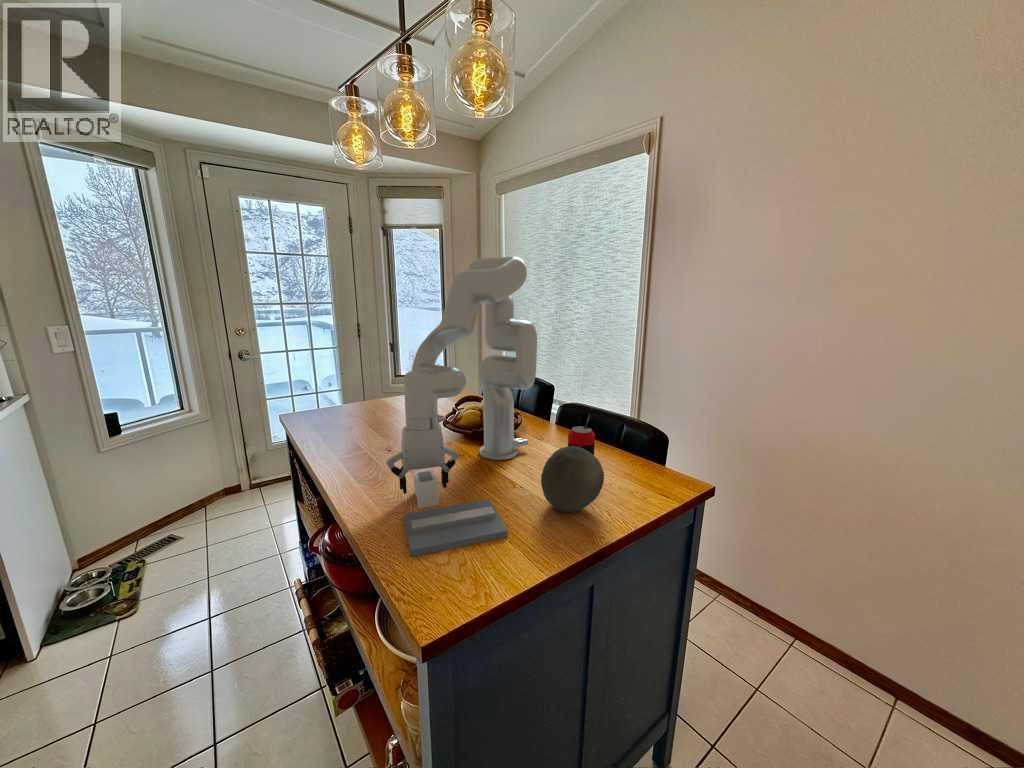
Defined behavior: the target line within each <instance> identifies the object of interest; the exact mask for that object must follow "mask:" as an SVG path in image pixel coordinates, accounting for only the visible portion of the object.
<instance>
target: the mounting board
mask: <svg viewBox="0 0 1024 768" xmlns="http://www.w3.org/2000/svg"><path fill="white" fill-rule="evenodd" d="M490 506H492V508H493V510H494V511H495V518H492V519H487V520H481V521H476V522H471V523H466V524H460V525H455V526H450V527H445V528H439V529H434V530H429V531H424V532H418V533H412V528H411V521H413V520H418V519H424V518H429V517H435V516H440V515H446V514H452V513H457V512H463V511H468V510H474V509H479V508H485V507H490ZM403 514H404V515H403V518H404V524H405V531H406V537H407V543H408V544H407V545H408V549H409V556H410V557H411V558H413V557H417V556H422V555H426V554H432V553H436V552H441V551H446V550H450V549H455V548H460V547H461V548H462V547H465V546H470V545H475V544H478V543H479V544H480V543H484V542H490V541H494V539H495V540H498V539H499V538H500V539H504V538H508V535H509V533H508V528H507V527H506V525H505V523H504V522H503V520H502V519H501V517H500V515H499V514H498V512H497V509H495V506H494V505H493V503H492V502H491V500H490V499H489V498H486V499H481V500H475V501H470V502H464V503H463V502H462V503H458V504H453V505H445V506H440V507H435V508H429V509H424V510H417V511H412V512H406V513H403Z"/></svg>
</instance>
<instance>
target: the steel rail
mask: <svg viewBox="0 0 1024 768" xmlns="http://www.w3.org/2000/svg"><path fill="white" fill-rule="evenodd" d="M492 518H495V511H494V510H493V508H492V506H490V507H485V508H479V509H474V510H468V511H463V512H457V513H452V514H446V515H440V516H435V517H429V518H424V519H418V520H413V521H411V528H412V533H418V532H424V531H429V530H434V529H439V528H445V527H450V526H455V525H460V524H466V523H471V522H476V521H481V520H487V519H492Z"/></svg>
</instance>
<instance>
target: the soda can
mask: <svg viewBox="0 0 1024 768" xmlns="http://www.w3.org/2000/svg"><path fill="white" fill-rule="evenodd" d="M595 442H596V434H595V433H594V431H593V429H592V428H590V427H587V426H580V425H579V426H573V427H572V428H571V429H570V430H569V431H568V433H567V447H568V446H576V447H581V448H583V449H585V450H587V451H588V452H590V453H591V454H593V455H594V456H595Z"/></svg>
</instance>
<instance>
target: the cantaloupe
mask: <svg viewBox="0 0 1024 768" xmlns="http://www.w3.org/2000/svg"><path fill="white" fill-rule="evenodd" d="M604 481H605V473H604V469H603V466H602V464H601V462H600V460H599V459H598V458H597V457H596V456H595V454H594V455H593V454H591V453H590V452H588V451H587V450H585V449H583V448H581V447H576V446H568V445H567V446H564V447H561V448H559V449H557V450H555V451H554V452H553V453H552V454H551V455H550V456H549V458H547V460H546V461H545V464H544V466H543V468H542V472H541V477H540V484H541V488H542V492H543V496H544V498H545V499H546V501H547V502H548V504H550V505H551V506H552V507H553V508H554V509H556V510H558V511H561V512H565V513H566V512H567V513H569V512H570V513H572V512H577V511H580V510H583V509H585V508H586V507H588V506H590V504H592V503H593V502H594V501H595V500H596V499H597V497H598V496H599V494H600V493H601V490H602V488H603V484H604Z"/></svg>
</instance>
